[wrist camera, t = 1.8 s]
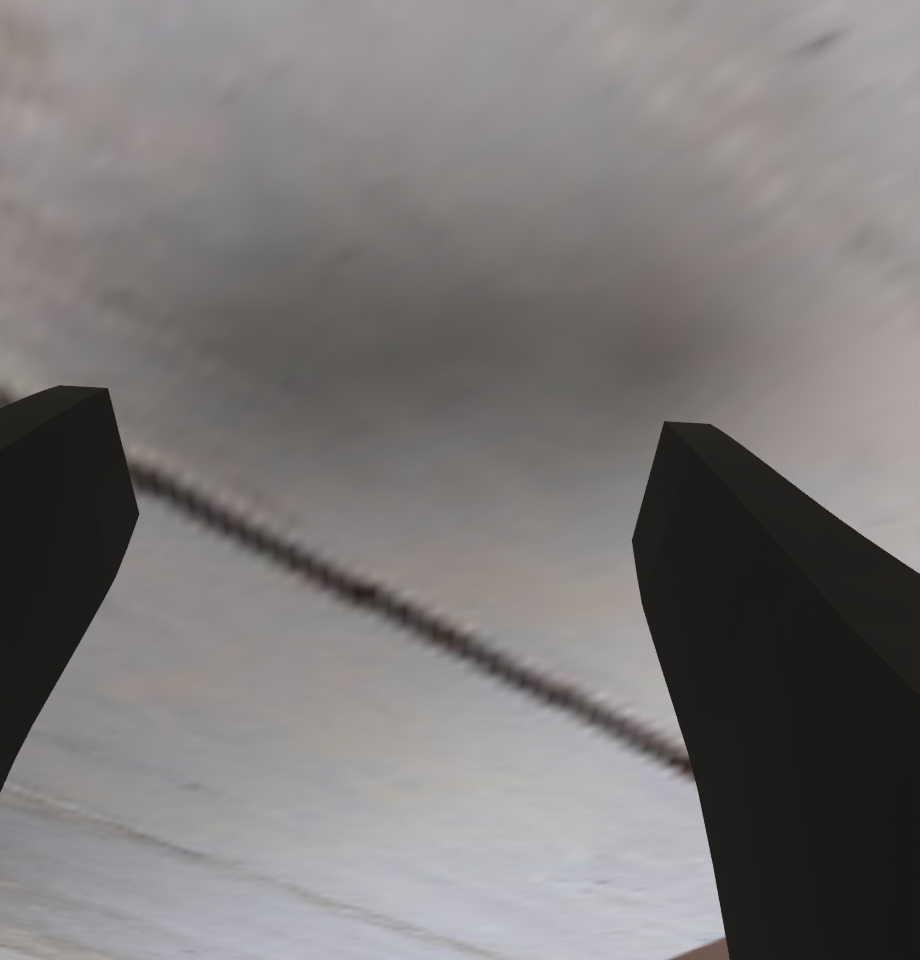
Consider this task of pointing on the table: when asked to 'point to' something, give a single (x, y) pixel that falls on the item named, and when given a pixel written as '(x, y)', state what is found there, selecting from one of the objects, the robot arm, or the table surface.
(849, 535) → the robot arm
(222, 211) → the table surface
